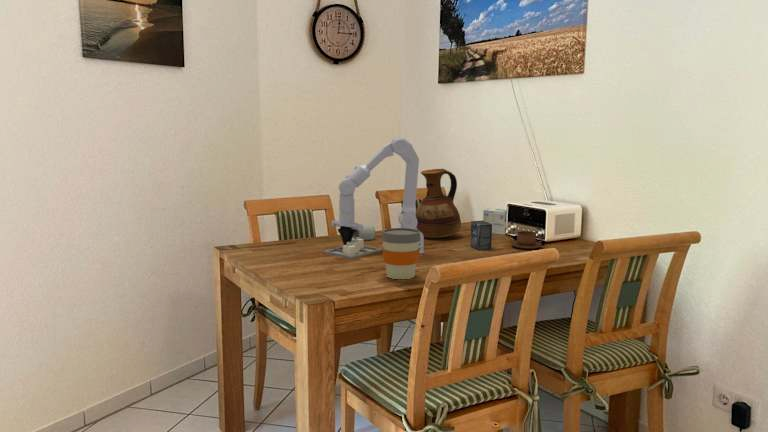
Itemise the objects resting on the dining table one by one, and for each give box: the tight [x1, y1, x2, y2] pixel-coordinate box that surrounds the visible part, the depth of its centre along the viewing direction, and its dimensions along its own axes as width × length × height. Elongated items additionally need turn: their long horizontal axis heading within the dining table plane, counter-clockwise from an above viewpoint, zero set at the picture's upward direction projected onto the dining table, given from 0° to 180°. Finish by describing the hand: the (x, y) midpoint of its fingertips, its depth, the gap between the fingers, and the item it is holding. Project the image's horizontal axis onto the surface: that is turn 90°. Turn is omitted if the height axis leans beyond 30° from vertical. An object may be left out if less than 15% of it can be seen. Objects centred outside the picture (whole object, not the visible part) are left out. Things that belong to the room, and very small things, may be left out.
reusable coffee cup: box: [381, 227, 420, 280], centre depth 194 cm, size 12×13×15 cm
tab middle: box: [347, 240, 360, 252], centre depth 226 cm, size 4×3×4 cm
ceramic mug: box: [352, 224, 376, 241], centre depth 252 cm, size 10×8×7 cm
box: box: [470, 220, 493, 251], centre depth 238 cm, size 8×6×11 cm
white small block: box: [351, 237, 365, 249], centre depth 232 cm, size 4×3×4 cm
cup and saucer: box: [510, 230, 543, 250], centre depth 241 cm, size 12×12×6 cm
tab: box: [342, 243, 356, 256], centre depth 220 cm, size 4×3×4 cm
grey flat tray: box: [323, 245, 383, 260], centre depth 226 cm, size 14×18×2 cm
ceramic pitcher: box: [416, 168, 462, 239], centre depth 261 cm, size 20×20×30 cm
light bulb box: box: [482, 207, 508, 236], centre depth 272 cm, size 11×7×11 cm, turn 58°
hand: (347, 246), depth 228 cm, fingers closed
